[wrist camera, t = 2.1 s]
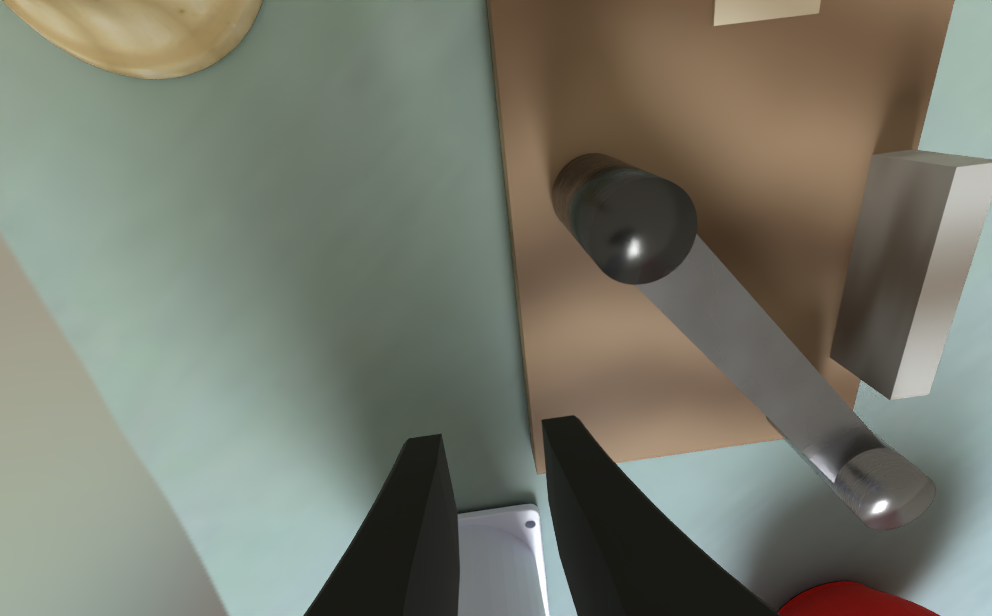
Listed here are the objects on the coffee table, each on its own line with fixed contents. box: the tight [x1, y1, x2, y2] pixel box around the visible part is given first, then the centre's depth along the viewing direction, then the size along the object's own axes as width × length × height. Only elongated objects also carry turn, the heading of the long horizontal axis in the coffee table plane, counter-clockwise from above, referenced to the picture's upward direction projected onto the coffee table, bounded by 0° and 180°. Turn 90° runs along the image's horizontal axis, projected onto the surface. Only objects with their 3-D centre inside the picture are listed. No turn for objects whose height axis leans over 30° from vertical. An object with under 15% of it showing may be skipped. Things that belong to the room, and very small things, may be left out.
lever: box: [552, 153, 936, 530], centre depth 15 cm, size 16×3×5 cm, turn 46°
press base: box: [486, 0, 992, 474], centre depth 17 cm, size 18×14×4 cm
